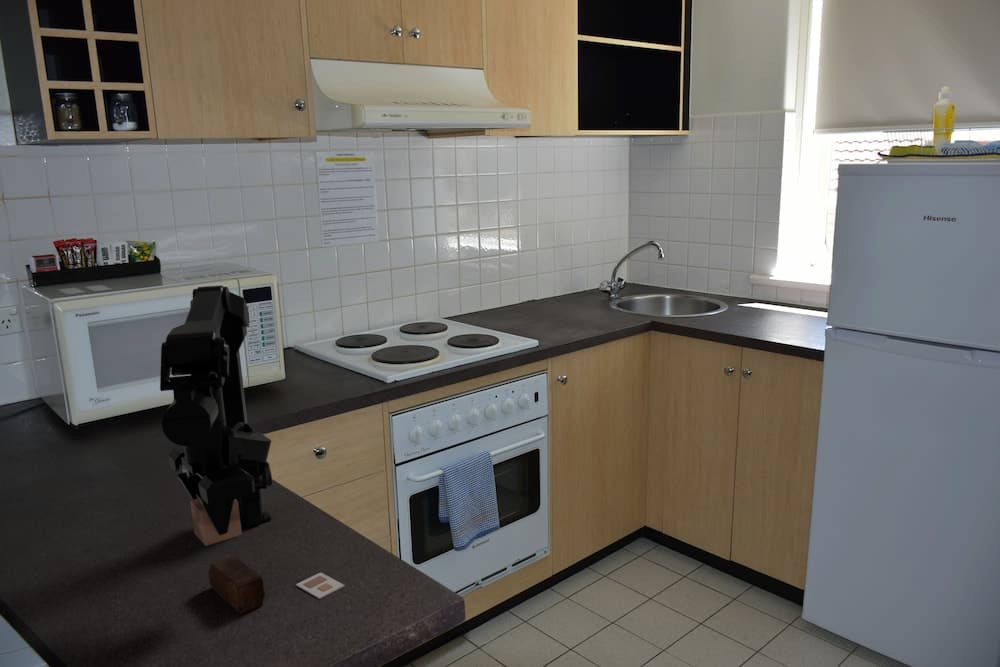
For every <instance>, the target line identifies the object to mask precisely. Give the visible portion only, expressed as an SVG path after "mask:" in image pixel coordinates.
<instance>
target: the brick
mask: <svg viewBox="0 0 1000 667" xmlns="http://www.w3.org/2000/svg"><path fill="white" fill-rule="evenodd" d="M208 578H209V584H210V587H211V588H213V590H214V591H215V593H216V594H217V595H218V596H219V597H222V598H221V599H222V600H223V601H225V602H226V603H227V602H228V603H229V604H228V603H227V604H228V605H229V606H230V605H231V606H232V607H233V608H234V609H233V608H232V607H231V606H230V607H231V608H232V609H233V610H234V611H235V612H237V613H238V614H239V613H240V614H239V615H241V614H242V615H244V614H243V613H245V614H247V613H249V612H252V611H253V609H254V610H257V609H259V608H261V607H263V605H264V598H265V596H266V591H265V587H264V580H263V578H262V575H261V574H259V573H258V572H256V571H255V570H254V569H253V568H251V567H250V566H249V565H248V564H246V563H245V562H244V561H242V560H241V559H240V558H238V557H235V556H233V557H224V558H223V557H222V558H219V559H217V560H215V561H213V562H212V563H211V564H210V569H208ZM260 606H261V607H260ZM258 607H259V608H258ZM248 611H249V612H248ZM246 612H247V613H246Z"/></svg>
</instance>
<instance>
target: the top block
mask: <svg viewBox="0 0 1000 667" xmlns="http://www.w3.org/2000/svg"><path fill="white" fill-rule="evenodd" d="M189 503H190V509H191V517H192V518H191V519H192V523H193V531H194V535H196V537H197V538H198V539H199V540H200V541H201V542H202V544H203V545H204V546H205V547H207V546H211V545H213V544H216V543H219V542H222V541H225V540H229V539H233V538H234V537H235V538H236V537H238V536H241V535H243V532H242V529H241V523H240V514H239V506H238V501H237V500H236V499H235V500H234V503H233V507H232V511H231V517H230V522H229V527H228V532H227V533H226V534H223V535H219V534H218V532H217V530H216V529H215V527H214V525H213V524H212V522H211V520H210V518H209V517H208V515H207V513H206V511H205V510H204V508H203V506H202V505H201V503H200V501H199V499H194V500H192V499H191V500H190V501H189Z"/></svg>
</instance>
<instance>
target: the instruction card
mask: <svg viewBox="0 0 1000 667" xmlns="http://www.w3.org/2000/svg"><path fill="white" fill-rule="evenodd" d="M295 586H296V587H297V588H299V589H301V590H303V591H304V592H305V593H307V594H309V595H311V596H313V597H315V598H316V599H319V600H321V599H323V598H325V597H327V596H328V595H330V594H333V593H335V592H336V591H338V590H340V589H342V588H345V587H346V586H345V584H344V583H341V582H339V581H337V580H335V579H334V578H332V577H330V576H328V575H326V574H325V573H323V572H319V573H317V574H315V575H311V576H310V577H308V578H306V579H304V580H302V581H300V582H298V583H296V584H295Z"/></svg>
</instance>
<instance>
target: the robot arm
mask: <svg viewBox="0 0 1000 667" xmlns="http://www.w3.org/2000/svg"><path fill="white" fill-rule="evenodd" d="M245 300H246V299H245V298H244V297H242V296H240V295H238V294H235V293H233V292H232V291H230V290H229V287H228V286H224V285H210V286H209V285H208V286H198V287H197V288H193V289H192V299H191V300H190V304H189V305H190V308H189V310H188V313H187V316H186V319H185V321H184V324H181V325H178V326H176V327H174V328H172V329H171V330H170V331H169V332H168V334H167V335H166V339H165V341H163V342H162V343H161V348H160V377H159V378H160V380H159V384H160V385H159V389H160V391H161V392H168V391H173V392H172V393H173V401H172V403H171V404H170V405H169V407H168V408H167V409H166V411H165V412H164V414H163V417H162V420H161V429H162V431H163V434H164V436H165V437H166V438H167V439H168V440H169V441H170V442H171V443H173V444H175V445H179V446H176V447H173V448H172V449H171V451H170V452H169V453H168V455H167V458H168V464H169V468H170V469H171V470H172V471H173V472H174V473H176V472H179V471H180V466H181V470H182V472H180V473H178V474H177V475H176V477H177V479H178V480H179V482H180V483H181V484H182V486H183V487H184V490H186V492H187V494H188V495H189V497H190V498H191V500H194V499H199V501H200V503H201V505H202V506H203V508H204V510H205V511H206V513H207V515H208V517H209V518H210V520H211V522H212V524H213V525H214V527H215V529H216V530H217V532H218V534H219V535H223V534H226V533H227V532H228V527H229V522H230V517H231V511H232V507H233V503H234V500H235V499H236V500H237V501H238V506H239V514H240V523H241V530H242V529H245V528H246V529H247V528H249V527H251V526H254V525H258V524H261V523H264V522H267V521H270V520H272V516H271V514H269V513H268V512H267V511H266V510H265V509H264V502H263V501H264V500H263V491H262V490H268V487H269V486H271V485H273V476H272V471H271V467H270V463H269V461H267V460H268V458H269V453H270V447H271V444H272V439H271V438H269V437H267V436H266V435H264V434H262V433H259V432H258V431H253V427H252V425H250V424H249V423H248V412H247V408H246V407H247V406H246V404H247V403H246V395H245V388H244V381H243V372H242V364H241V354H240V349H241V347H242V344H243V343H244V341H245V339H246V337H247V334H248V332H247V331H248V330H247V328H249V327H250V312H249V307H248V305H247V302H246V301H245Z"/></svg>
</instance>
